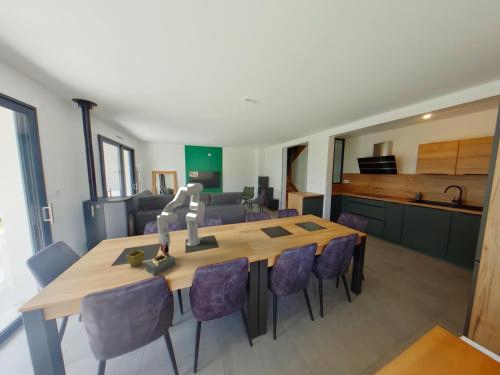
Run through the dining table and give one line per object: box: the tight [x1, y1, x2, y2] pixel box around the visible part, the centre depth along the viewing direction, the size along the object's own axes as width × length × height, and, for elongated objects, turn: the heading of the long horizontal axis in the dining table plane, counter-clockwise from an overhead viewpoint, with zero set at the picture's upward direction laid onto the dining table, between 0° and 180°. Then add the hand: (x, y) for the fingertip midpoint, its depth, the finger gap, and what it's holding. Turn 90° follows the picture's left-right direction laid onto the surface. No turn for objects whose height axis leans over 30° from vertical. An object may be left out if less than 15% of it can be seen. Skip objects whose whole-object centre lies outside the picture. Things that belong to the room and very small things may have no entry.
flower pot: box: [125, 250, 145, 267], centre depth 130 cm, size 9×9×9 cm
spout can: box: [161, 244, 170, 255], centre depth 138 cm, size 5×5×15 cm
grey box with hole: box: [144, 253, 176, 276], centre depth 125 cm, size 16×12×8 cm
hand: (164, 250), depth 138 cm, fingers closed on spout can, 4 cm apart
